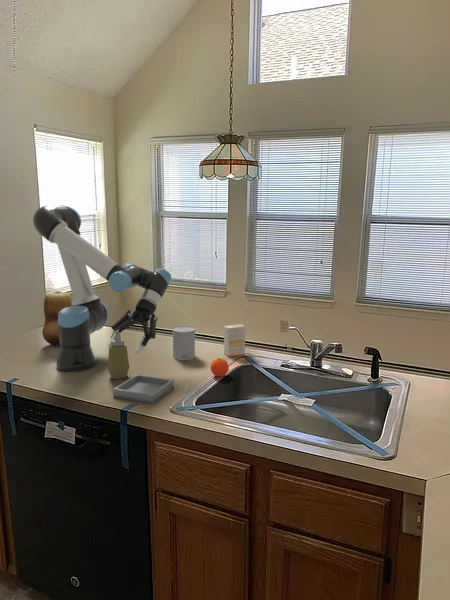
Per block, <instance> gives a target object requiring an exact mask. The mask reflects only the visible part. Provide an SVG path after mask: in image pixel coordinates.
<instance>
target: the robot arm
mask: <svg viewBox="0 0 450 600" xmlns="http://www.w3.org/2000/svg"><path fill="white" fill-rule="evenodd" d="M32 223H33V227H34V228H35V230H36V231H37V233H38V234H39V235H40V236H41V237H42V238H44V239H45V240H47V241H48V242H49V243H50V244H56V245H57V247H58V251H59V254H60V258H61V262H62V265H63V268H64V271H65V275H66V277H67V281H68V284H69V287H70V290H71V293H72V296H73V302H72V306H71V307H67V308H64V309H62V310H61V311H60V312H59V314H58V325H59V339H60V345H59V352H58V355H57V359H56V361H55V362H56V365H55V366H56V368H57V370H59V371H63V372H80V371H86V370H89V369H92V368H94V367H95V366H96V364H97V362H96V361H97V360H96V359H97V358H96V357H95V354H94V352H93V349H92V346H91V334H93V333H95V332H97V331H99V330H101V329H103V327H104V326H106V325H107V323H108V321H109V318H110V317H109V316H110V313H109V309H108V308H107V305H105V304H104V303H103V302H101V298H100V296H99V295H96V293H95V292H94V288H93V285H92V281H91V277H90V274H89V271H88V268H89V269H91V270H92V271H93V272H95V273H97V274H98V275H99V276H100V277H102V278H103V279H105V280H106V281H107V282H108V285H109V287H110V289H111V290H113V291H114V292H118V293H119V292H126V291H128V290H129V289H131V288H134V287H139V288H142V289H144V291H143V292H142V294H141V296H140V299H138V301H137V303H136V305H135V310H134V311H131V310H130V309H129V310H127V311H126V312H125V314H124V315H123V316H122V317H121V318H120V319H118V321H116V322H115V323H114V324H113V325H111V329H112V331H113V333H112V334H111V336H110V340H109V341H108V343H107V346H108V348H109V347H110V346H111V340H113V339H114V337H115V332H116V330H119V333H120V336H121V333H123V332H124V331H125V330H126V329H128V328H129V327H131V326H134V325H139V326H142V328H143V333H144V334H143V335H142V336H141V338H140V340H139V342H138V344H137V346H136V348H135V349H134V352H135V353H136V354H137V355H139V356H140V355H141V354H142V352H143V350H144V348H145V347H146V346H147V344H148V342H149V341H150V340H154V339H156V333H157V332H156V330H157V321H158V316H157V315H156V314H155V313H156V310H157V307H158V306H159V304H160V303H161V300H162V299H163V296H164V294H165V292H166V291H167V289H168V287H169V285H170V282H171V281H172V275H171V273H170V272H169V271H167V269H164V268H156V269H155V270H154V271H152V270H148V269H146V268H143V267H140V266H138V265H136V264H132V263H125V264H124V265H123V266H121V265H120V264H119V263H117V262H116V261H114V260H113V259H112V258H110V257H109V256H108V255H106V254H105V253H103V252H102V251H101V250H100V249H98V248H97V247H96V246H94V245H93V244H91V243H89V241H87V240H86V239H85V238H83V237H82V236H81V231H80V229H81V226H82V217H81V216H80V213H79V212H78V211H77V210H76V209H75V208H73V207H71V206H67V205H43V206H41V207H40V208H38V209H36V211H35V213H34V214H33V218H32ZM87 267H88V268H87ZM148 322H149V323H148Z"/></svg>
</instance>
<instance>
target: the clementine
mask: <svg viewBox="0 0 450 600" xmlns="http://www.w3.org/2000/svg"><path fill="white" fill-rule="evenodd" d="M229 368H230V367H229V364H228V361H227V359H226V358H224V357H220V358H215V359H214V360H212V362H211V364H210V371H211V373H212V374H213V375H214V376H216V377H224V376H226V374H228V372H229Z"/></svg>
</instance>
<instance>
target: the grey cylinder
mask: <svg viewBox="0 0 450 600" xmlns="http://www.w3.org/2000/svg"><path fill="white" fill-rule="evenodd" d="M172 358H173V359H174V360H177V361H190V360H193V359H195V358H196V328H195V327H193V326H187V325H185V326H184V325H183V326H181V325H180V326H175V327H174V328H172Z"/></svg>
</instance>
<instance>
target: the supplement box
mask: <svg viewBox="0 0 450 600" xmlns="http://www.w3.org/2000/svg"><path fill="white" fill-rule="evenodd" d="M245 342H246V326H244V325H243V324H242V323H241V324H240V323H239V324H229V325H224V326H223V343H224V344H223V354H224V356H226V357H227V358H230V357H239V356H240V357H241V356H245V354H246V345H245V344H246V343H245Z"/></svg>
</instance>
